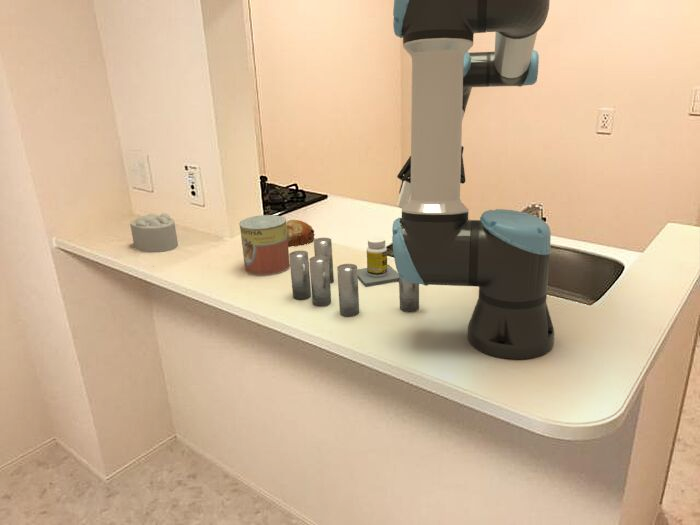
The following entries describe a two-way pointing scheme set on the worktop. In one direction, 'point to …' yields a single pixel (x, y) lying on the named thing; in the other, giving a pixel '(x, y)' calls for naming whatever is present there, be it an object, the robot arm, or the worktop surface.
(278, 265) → the canned food
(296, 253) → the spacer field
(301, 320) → the worktop surface
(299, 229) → the bread roll
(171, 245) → the lumpy-topped squat cylinder
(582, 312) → the worktop surface
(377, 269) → the supplement bottle
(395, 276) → the mat
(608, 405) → the worktop surface
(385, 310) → the worktop surface
